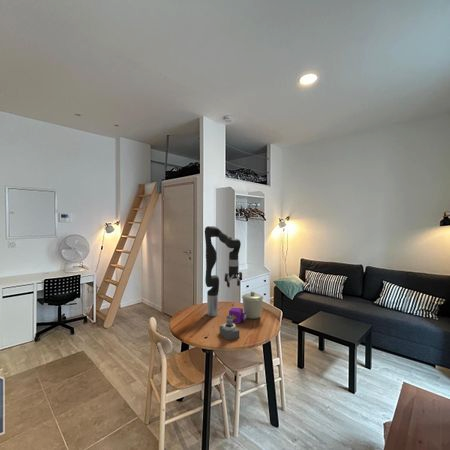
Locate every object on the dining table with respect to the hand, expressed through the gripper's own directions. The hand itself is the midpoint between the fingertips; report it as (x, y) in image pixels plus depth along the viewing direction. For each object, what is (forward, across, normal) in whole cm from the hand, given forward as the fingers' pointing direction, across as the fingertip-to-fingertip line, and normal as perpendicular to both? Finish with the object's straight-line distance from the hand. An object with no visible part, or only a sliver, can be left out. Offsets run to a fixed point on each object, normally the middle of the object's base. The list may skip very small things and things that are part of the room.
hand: (233, 286), depth 184 cm
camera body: (+30, +10, +12) cm, 34 cm away
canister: (+30, -24, -9) cm, 40 cm away
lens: (+25, +10, +12) cm, 29 cm away
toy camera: (+30, -8, -6) cm, 32 cm away
